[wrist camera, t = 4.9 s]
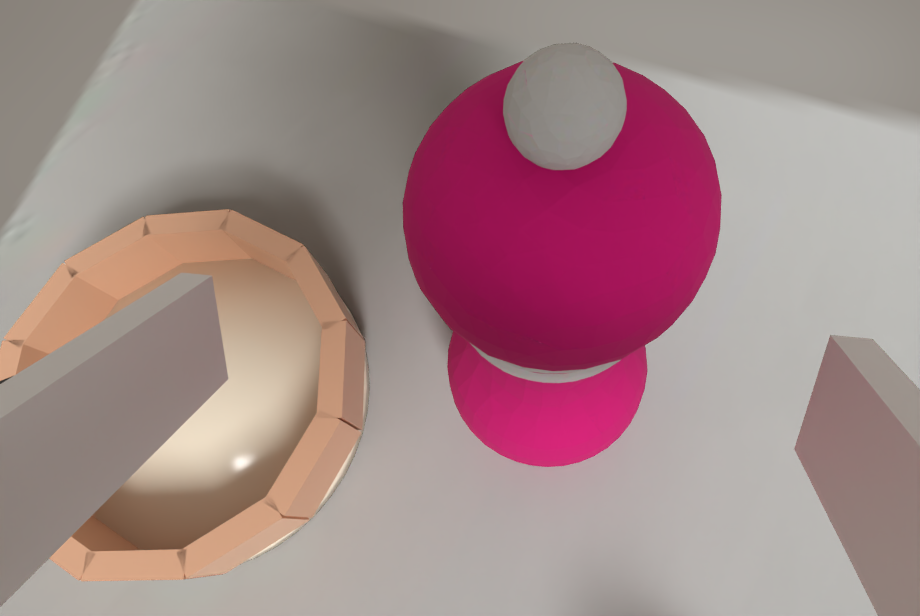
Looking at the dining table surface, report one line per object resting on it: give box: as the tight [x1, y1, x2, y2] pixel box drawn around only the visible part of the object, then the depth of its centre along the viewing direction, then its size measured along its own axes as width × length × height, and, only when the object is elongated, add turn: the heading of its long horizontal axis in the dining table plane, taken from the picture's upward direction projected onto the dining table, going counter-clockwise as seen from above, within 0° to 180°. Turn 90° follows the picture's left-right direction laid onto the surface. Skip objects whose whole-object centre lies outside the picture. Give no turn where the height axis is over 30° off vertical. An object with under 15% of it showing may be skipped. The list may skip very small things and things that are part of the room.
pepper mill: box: [403, 43, 721, 467], centre depth 17 cm, size 7×7×20 cm
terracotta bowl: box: [0, 209, 370, 581], centre depth 27 cm, size 15×15×4 cm
